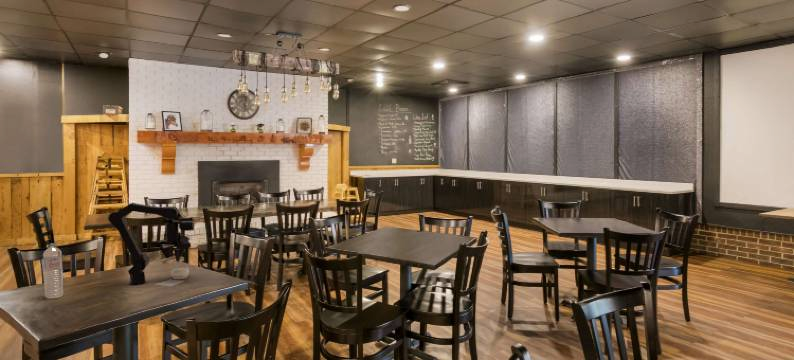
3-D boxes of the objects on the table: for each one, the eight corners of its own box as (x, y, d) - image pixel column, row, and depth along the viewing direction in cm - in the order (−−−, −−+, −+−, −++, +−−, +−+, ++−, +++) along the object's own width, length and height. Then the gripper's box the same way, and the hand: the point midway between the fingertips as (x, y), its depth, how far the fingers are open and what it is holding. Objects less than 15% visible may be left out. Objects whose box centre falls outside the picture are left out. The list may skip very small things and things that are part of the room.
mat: (154, 285, 228) (154, 284, 228) (170, 280, 238) (170, 279, 238) (170, 287, 225) (170, 286, 225) (185, 282, 235) (185, 281, 235)
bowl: (167, 279, 239) (167, 271, 239) (180, 275, 247) (179, 267, 247) (180, 281, 237) (180, 272, 236) (192, 276, 244) (192, 268, 244)
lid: (162, 263, 231) (162, 259, 231) (174, 259, 239) (174, 255, 239) (171, 264, 229) (171, 260, 229) (183, 260, 237) (183, 256, 237)
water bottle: (43, 300, 205) (41, 245, 203) (46, 295, 211) (44, 243, 209) (61, 298, 208) (59, 244, 206) (64, 293, 214) (62, 241, 213)
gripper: (198, 229, 237) (199, 259, 238) (171, 227, 244) (171, 256, 245) (181, 233, 227) (182, 264, 228) (153, 231, 233) (154, 260, 234)
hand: (173, 261), depth 234 cm, fingers closed on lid, 6 cm apart
